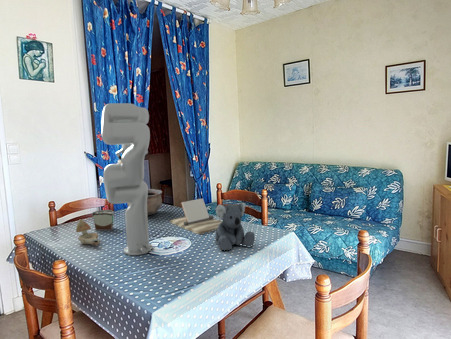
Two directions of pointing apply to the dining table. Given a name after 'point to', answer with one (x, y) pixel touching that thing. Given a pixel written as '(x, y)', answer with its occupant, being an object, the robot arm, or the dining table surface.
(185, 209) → the tile
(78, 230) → the oil lamp
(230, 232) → the koala plush
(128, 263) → the dining table surface
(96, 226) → the food container
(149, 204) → the ceramic bowl
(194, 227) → the tile stand
